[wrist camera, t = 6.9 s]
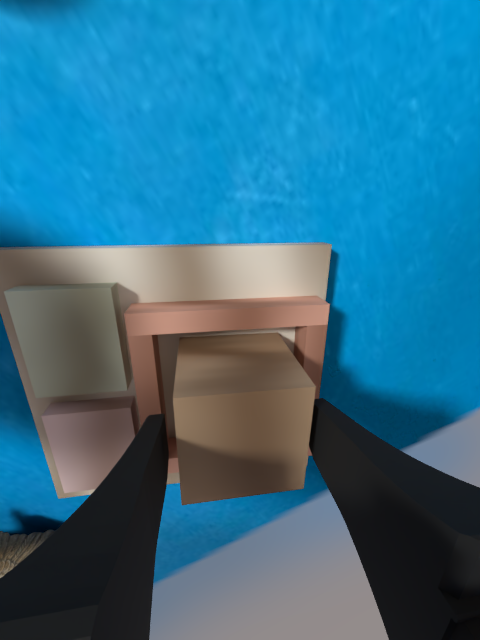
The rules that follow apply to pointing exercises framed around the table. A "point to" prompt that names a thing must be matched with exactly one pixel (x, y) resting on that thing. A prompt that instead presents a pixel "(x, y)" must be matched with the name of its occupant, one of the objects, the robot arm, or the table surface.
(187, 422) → the walnut block
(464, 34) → the table surface
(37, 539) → the eagle figurine
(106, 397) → the puzzle board
